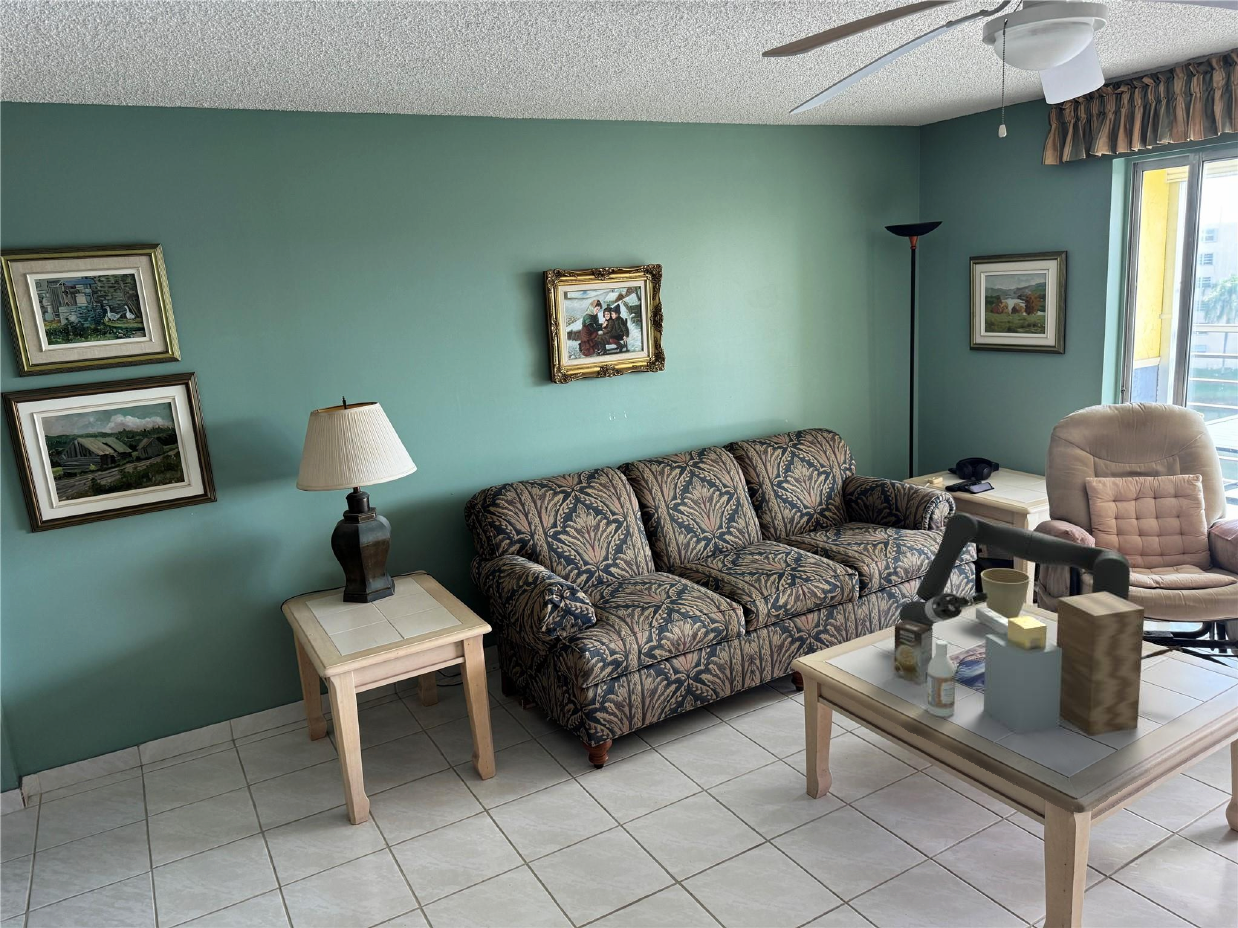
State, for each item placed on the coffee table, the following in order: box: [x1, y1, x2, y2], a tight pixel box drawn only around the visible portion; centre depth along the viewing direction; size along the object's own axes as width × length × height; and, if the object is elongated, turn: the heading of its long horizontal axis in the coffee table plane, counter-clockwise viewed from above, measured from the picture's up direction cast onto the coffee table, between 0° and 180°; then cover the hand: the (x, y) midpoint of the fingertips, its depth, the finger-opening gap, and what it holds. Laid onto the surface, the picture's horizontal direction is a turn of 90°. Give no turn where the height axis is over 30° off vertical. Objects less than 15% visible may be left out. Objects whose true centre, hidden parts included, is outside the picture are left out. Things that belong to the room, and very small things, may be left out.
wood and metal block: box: [975, 606, 1047, 651], centre depth 232 cm, size 6×23×6 cm, turn 12°
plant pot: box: [980, 567, 1031, 619], centre depth 293 cm, size 15×15×16 cm
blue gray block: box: [983, 632, 1062, 736], centre depth 229 cm, size 12×14×22 cm
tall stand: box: [1056, 591, 1145, 737], centre depth 225 cm, size 14×13×32 cm
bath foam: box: [926, 639, 956, 718], centre depth 235 cm, size 7×7×20 cm
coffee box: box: [893, 619, 934, 686], centre depth 256 cm, size 9×6×16 cm
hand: (972, 597), depth 247 cm, fingers open, 8 cm apart
